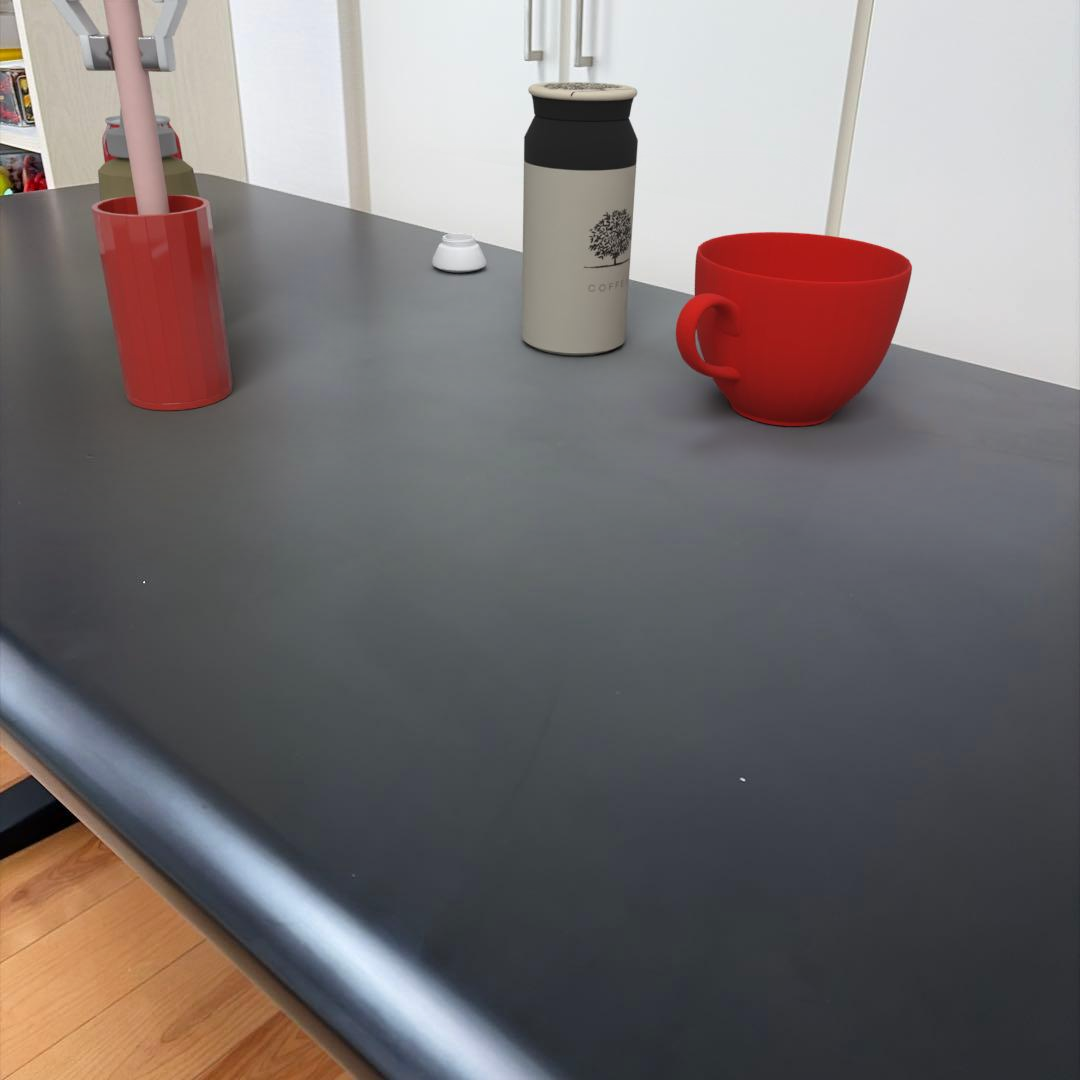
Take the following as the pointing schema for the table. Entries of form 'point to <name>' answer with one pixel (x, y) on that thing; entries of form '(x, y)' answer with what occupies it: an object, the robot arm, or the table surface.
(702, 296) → the ceramic cup
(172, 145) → the squeeze bottle
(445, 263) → the lidless jar
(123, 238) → the red tumbler
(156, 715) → the table surface
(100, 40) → the robot arm
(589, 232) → the travel mug
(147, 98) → the straw
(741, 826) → the table surface
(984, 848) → the table surface
